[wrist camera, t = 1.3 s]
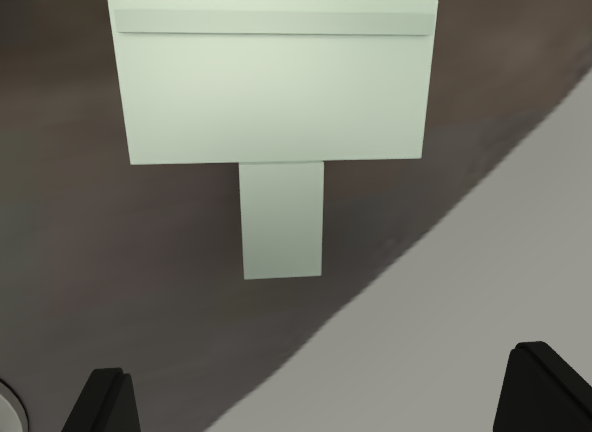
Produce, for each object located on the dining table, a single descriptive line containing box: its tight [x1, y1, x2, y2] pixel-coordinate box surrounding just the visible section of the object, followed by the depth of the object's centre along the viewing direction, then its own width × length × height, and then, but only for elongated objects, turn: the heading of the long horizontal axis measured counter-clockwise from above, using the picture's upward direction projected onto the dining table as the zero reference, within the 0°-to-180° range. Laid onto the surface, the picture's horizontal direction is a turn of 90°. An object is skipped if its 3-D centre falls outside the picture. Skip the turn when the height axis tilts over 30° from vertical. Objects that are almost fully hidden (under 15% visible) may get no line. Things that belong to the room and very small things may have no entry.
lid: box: [108, 0, 438, 279], centre depth 18 cm, size 24×14×2 cm, turn 0°
